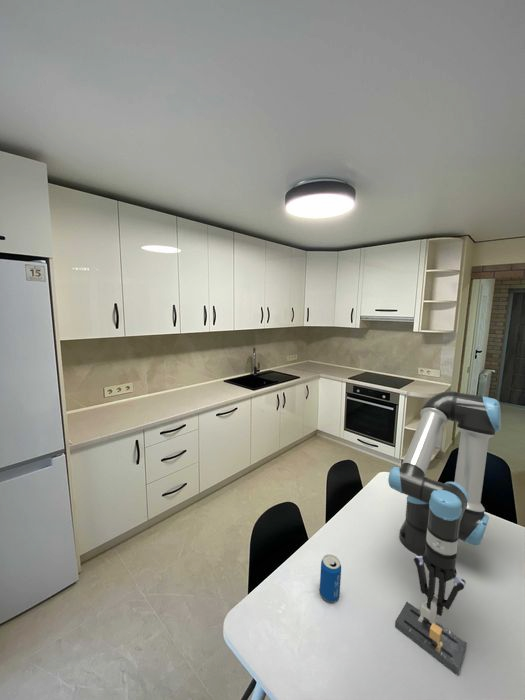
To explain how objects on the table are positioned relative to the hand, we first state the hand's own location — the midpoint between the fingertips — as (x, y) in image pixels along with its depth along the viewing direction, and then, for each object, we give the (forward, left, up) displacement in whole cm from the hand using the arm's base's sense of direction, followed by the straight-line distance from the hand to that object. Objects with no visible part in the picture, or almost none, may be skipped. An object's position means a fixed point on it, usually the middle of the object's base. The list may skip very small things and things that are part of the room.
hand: (433, 620), depth 85 cm
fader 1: (-2, 0, -1) cm, 2 cm away
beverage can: (-27, -13, -4) cm, 30 cm away
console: (0, -3, -4) cm, 4 cm away
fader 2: (+2, -5, -1) cm, 6 cm away
